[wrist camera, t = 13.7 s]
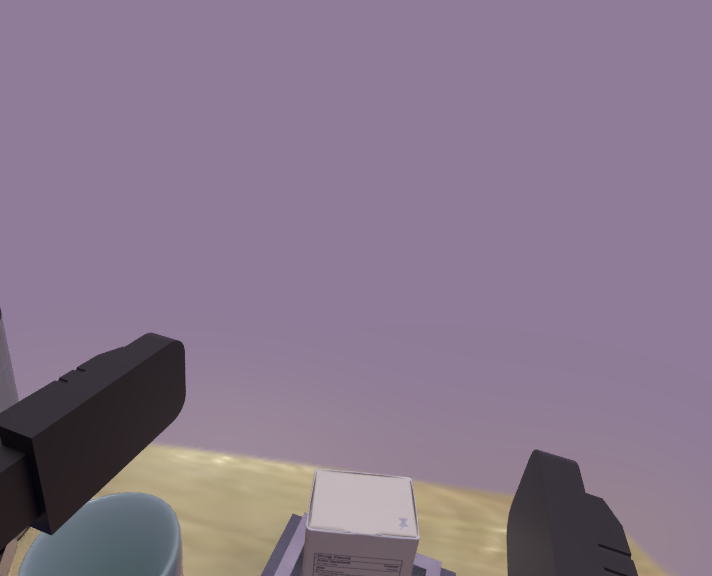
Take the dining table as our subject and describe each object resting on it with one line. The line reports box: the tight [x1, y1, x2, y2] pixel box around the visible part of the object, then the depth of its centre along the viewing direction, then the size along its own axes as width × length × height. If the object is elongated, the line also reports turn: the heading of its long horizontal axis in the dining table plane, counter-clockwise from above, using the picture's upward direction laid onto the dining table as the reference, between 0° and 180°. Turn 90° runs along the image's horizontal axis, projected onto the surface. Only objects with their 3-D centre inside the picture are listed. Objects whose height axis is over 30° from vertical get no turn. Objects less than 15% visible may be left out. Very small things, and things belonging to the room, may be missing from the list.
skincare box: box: [302, 469, 419, 576], centre depth 27 cm, size 6×4×12 cm
